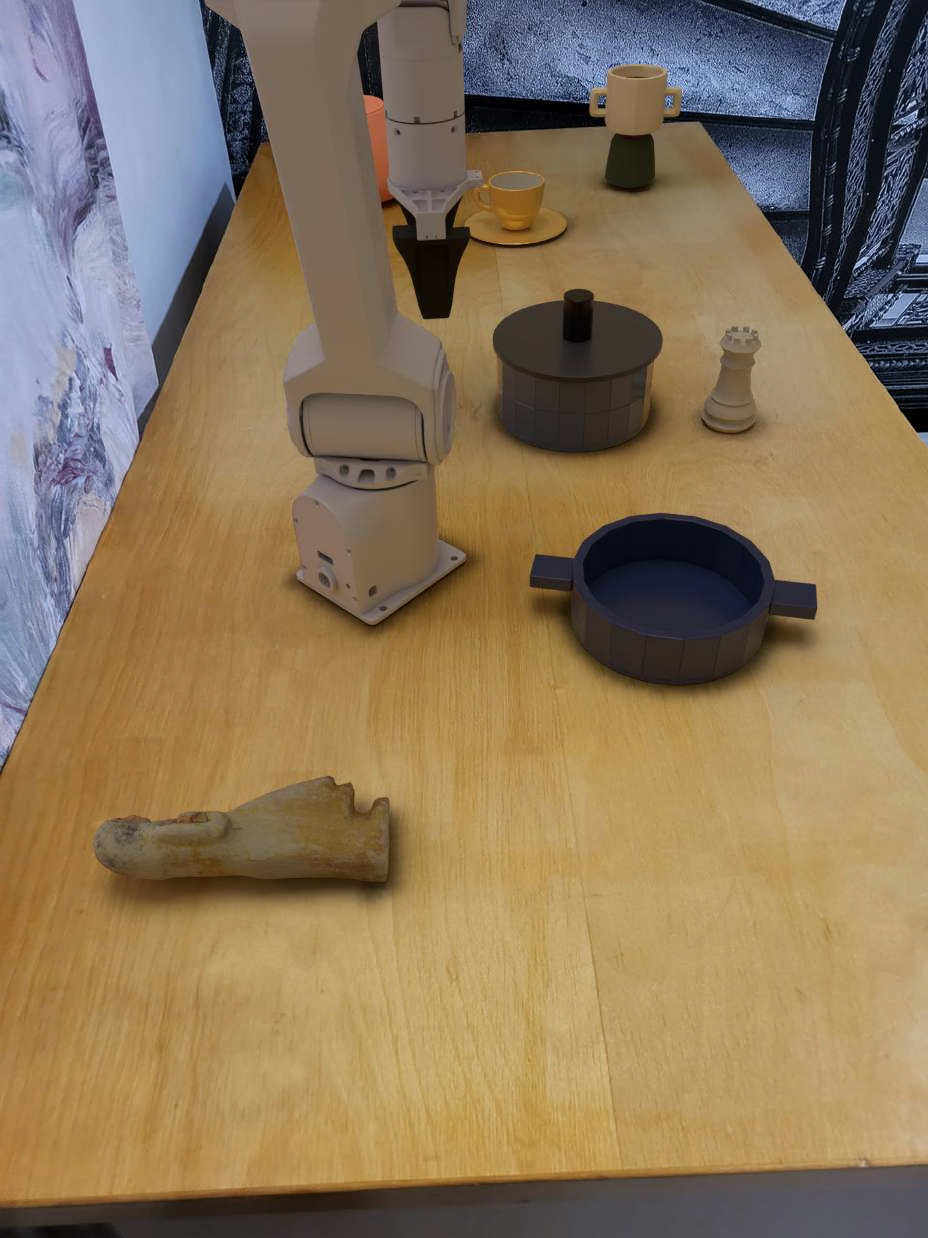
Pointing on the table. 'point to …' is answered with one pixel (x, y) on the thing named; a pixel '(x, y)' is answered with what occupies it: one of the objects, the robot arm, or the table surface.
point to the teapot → (378, 143)
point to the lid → (577, 340)
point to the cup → (514, 211)
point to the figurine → (257, 838)
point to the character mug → (634, 120)
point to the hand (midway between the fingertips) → (434, 295)
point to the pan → (671, 597)
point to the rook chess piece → (733, 383)
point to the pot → (573, 409)
